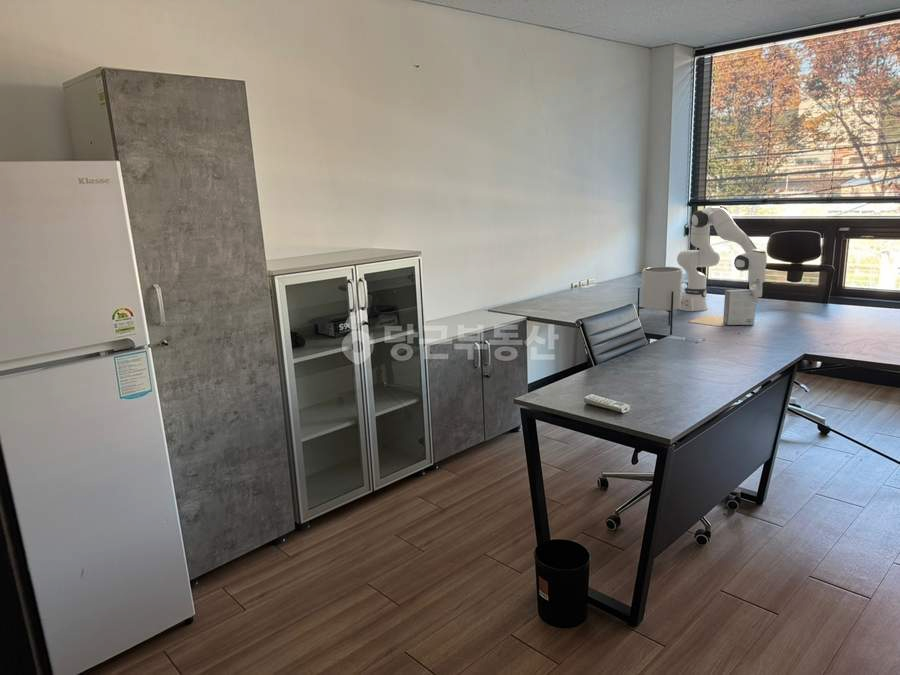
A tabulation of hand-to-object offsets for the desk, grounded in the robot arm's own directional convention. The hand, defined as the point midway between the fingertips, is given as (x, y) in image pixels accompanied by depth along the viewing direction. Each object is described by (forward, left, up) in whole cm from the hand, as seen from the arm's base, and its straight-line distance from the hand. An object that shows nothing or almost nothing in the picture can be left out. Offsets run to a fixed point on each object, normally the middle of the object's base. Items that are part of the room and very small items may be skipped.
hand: (754, 301), depth 350 cm
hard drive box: (-9, 0, -14) cm, 17 cm away
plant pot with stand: (-38, -37, -15) cm, 55 cm away
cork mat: (-24, 0, -14) cm, 28 cm away
